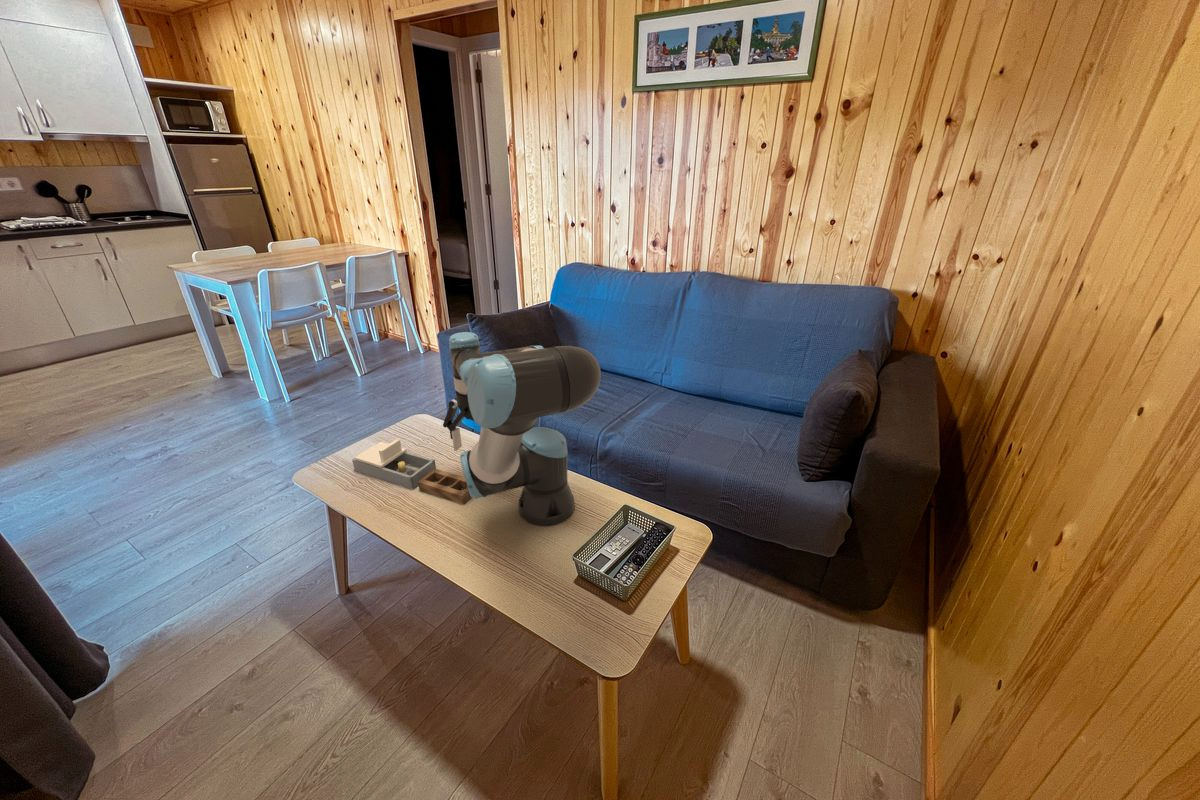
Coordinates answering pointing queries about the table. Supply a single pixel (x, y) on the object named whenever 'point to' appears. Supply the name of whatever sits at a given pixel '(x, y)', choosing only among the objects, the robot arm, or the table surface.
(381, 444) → the lid
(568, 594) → the table surface
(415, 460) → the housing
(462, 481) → the wooden compartment rack
